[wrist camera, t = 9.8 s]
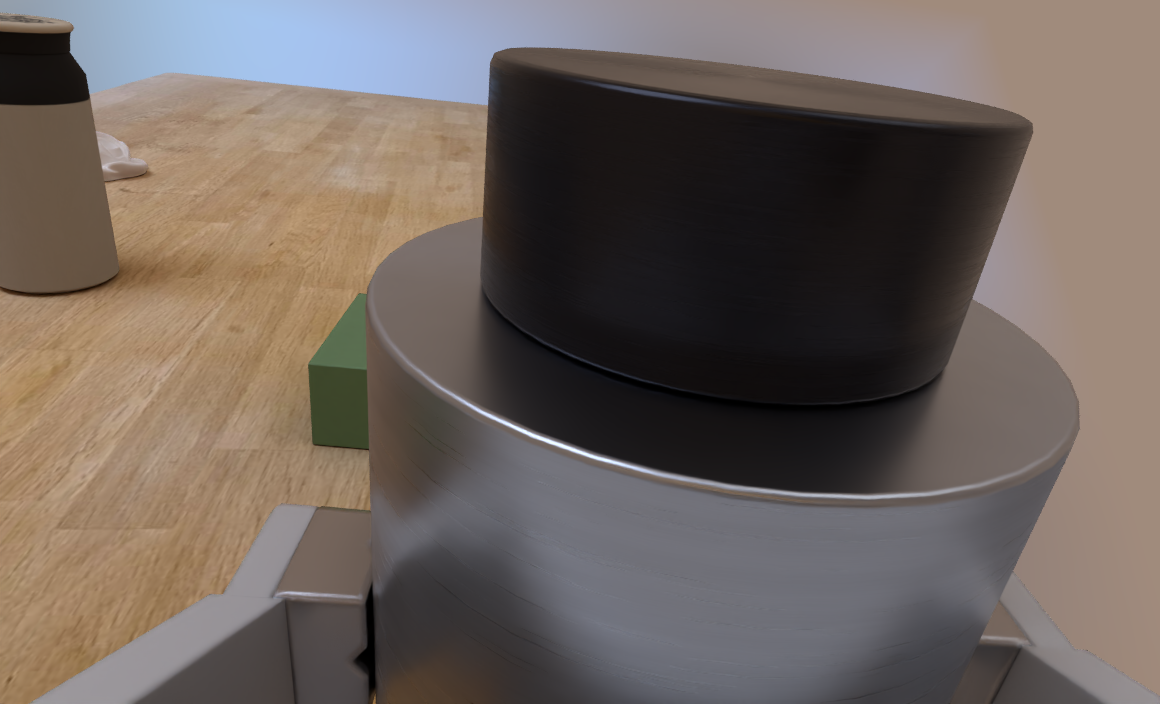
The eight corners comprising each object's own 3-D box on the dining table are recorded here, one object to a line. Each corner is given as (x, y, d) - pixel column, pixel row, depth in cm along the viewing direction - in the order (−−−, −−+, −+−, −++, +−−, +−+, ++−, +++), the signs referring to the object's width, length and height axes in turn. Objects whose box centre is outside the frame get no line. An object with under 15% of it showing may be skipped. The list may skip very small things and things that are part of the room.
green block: (509, 376, 49) (514, 308, 46) (495, 461, 40) (501, 382, 37) (360, 361, 48) (358, 292, 46) (312, 444, 39) (307, 363, 37)
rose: (50, 120, 81) (149, 125, 84) (58, 160, 83) (154, 163, 86) (26, 138, 73) (137, 142, 76) (36, 182, 75) (143, 184, 78)
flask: (725, 777, 15) (935, 83, 9) (822, 1246, 9) (1552, 212, 3) (423, 762, 15) (434, 25, 9) (332, 1242, 9) (186, 63, 3)
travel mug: (74, 302, 51) (17, 26, 43) (-37, 288, 51) (-114, 9, 43) (142, 266, 58) (103, 24, 50) (44, 253, 58) (-9, 9, 50)
